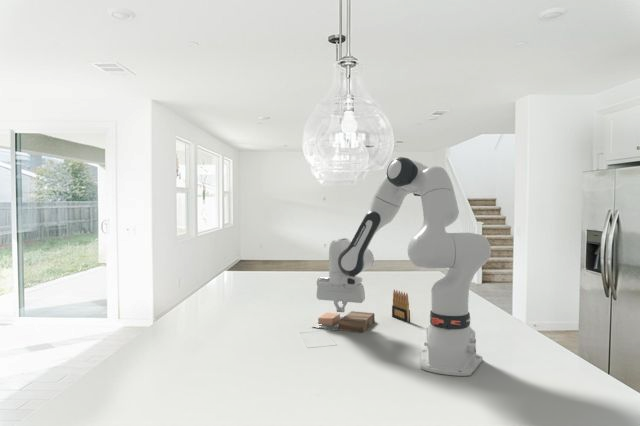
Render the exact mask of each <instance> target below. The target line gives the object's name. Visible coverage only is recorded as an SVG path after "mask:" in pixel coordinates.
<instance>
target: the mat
mask: <svg viewBox="0 0 640 426" xmlns="http://www.w3.org/2000/svg"><path fill="white" fill-rule="evenodd" d="M343 317H344V316H340V319H342V318H343ZM319 326H321V327H319V328H326V329H325V330H328V329H335V330H334V331H337V330H338V321H337V322H336V323H335V324H333V325H323V324H322V325H319ZM319 328H318V329H319ZM338 331H339V330H338Z"/></svg>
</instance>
